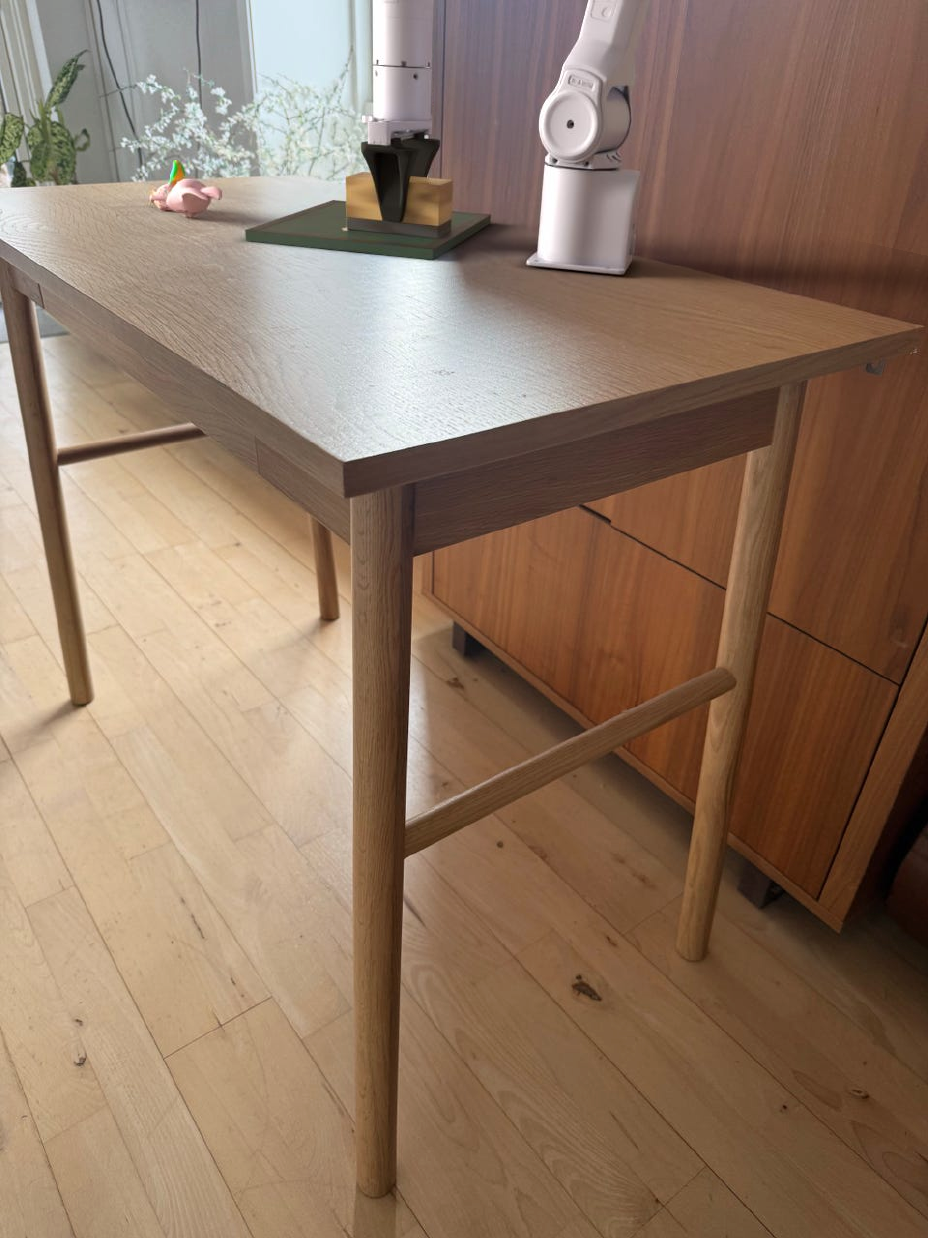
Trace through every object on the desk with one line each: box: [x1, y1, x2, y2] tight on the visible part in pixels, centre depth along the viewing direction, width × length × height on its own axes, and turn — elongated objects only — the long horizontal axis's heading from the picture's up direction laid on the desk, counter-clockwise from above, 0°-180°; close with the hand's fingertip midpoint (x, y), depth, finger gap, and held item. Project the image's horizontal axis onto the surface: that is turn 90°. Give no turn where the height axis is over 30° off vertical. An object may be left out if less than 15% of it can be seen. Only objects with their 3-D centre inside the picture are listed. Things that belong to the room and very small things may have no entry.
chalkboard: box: [244, 199, 492, 261], centre depth 103 cm, size 20×24×1 cm
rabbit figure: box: [149, 159, 223, 218], centre depth 104 cm, size 6×6×15 cm
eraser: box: [345, 171, 454, 238], centre depth 97 cm, size 10×5×5 cm, turn 75°
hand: (401, 216), depth 98 cm, fingers closed on eraser, 5 cm apart
